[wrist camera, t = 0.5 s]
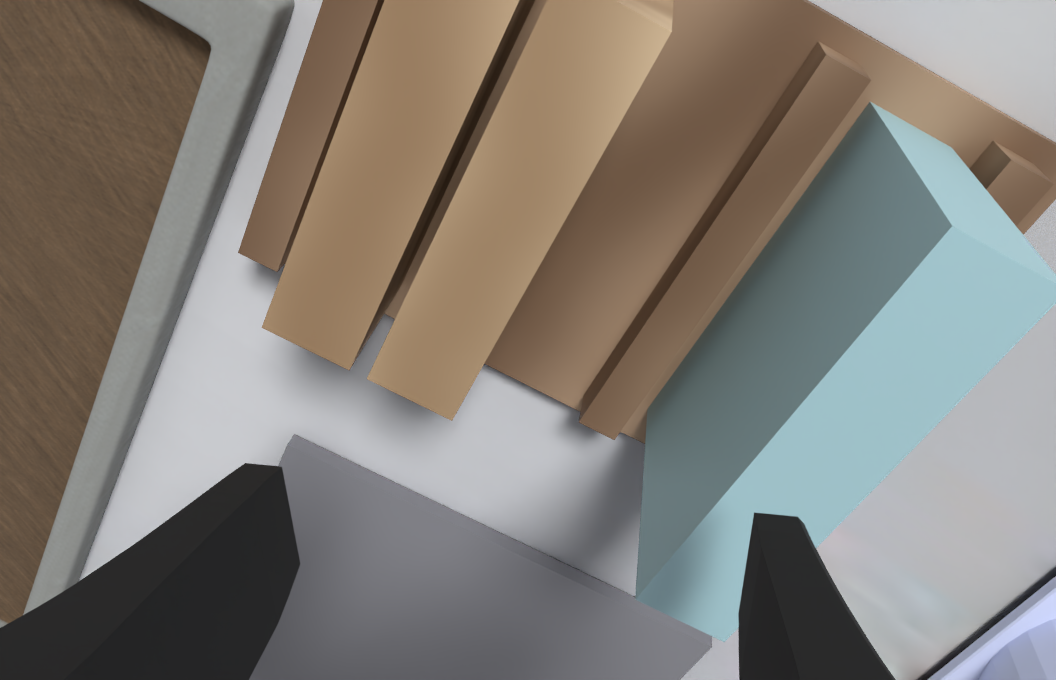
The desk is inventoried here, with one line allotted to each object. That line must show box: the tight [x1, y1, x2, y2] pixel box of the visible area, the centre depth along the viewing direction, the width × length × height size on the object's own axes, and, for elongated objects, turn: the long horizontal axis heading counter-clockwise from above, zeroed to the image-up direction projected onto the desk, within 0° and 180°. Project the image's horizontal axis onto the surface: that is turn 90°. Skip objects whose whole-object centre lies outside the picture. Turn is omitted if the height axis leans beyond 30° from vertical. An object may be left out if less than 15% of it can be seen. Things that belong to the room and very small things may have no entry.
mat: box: [249, 434, 712, 680], centre depth 29 cm, size 14×12×1 cm
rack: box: [238, 0, 1056, 444], centre depth 20 cm, size 16×11×2 cm
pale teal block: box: [635, 102, 1056, 642], centre depth 18 cm, size 2×9×6 cm, turn 154°
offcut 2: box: [367, 0, 674, 421], centre depth 18 cm, size 2×9×4 cm, turn 154°
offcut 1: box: [262, 0, 535, 370], centre depth 18 cm, size 2×9×4 cm, turn 154°
